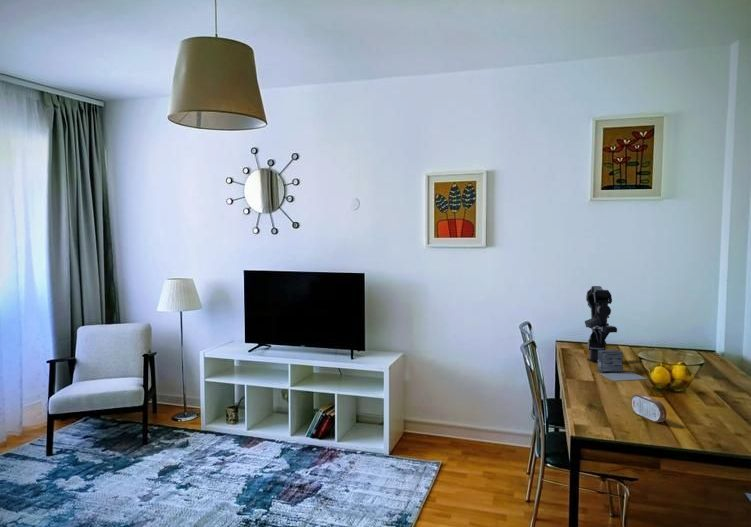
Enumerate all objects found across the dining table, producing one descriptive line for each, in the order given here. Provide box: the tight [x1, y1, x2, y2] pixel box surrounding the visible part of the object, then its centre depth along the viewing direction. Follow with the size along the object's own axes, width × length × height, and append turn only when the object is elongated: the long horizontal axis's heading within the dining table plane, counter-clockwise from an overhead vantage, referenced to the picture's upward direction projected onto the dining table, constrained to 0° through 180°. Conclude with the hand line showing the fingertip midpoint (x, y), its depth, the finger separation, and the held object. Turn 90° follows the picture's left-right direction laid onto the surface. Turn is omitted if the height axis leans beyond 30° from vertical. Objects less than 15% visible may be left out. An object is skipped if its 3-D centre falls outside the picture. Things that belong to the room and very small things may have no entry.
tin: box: [630, 393, 667, 423], centre depth 194 cm, size 15×3×8 cm, turn 17°
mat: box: [599, 371, 648, 382], centre depth 251 cm, size 12×18×1 cm, turn 101°
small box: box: [597, 349, 624, 373], centre depth 260 cm, size 11×6×10 cm, turn 84°
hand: (600, 342), depth 268 cm, fingers open, 2 cm apart
